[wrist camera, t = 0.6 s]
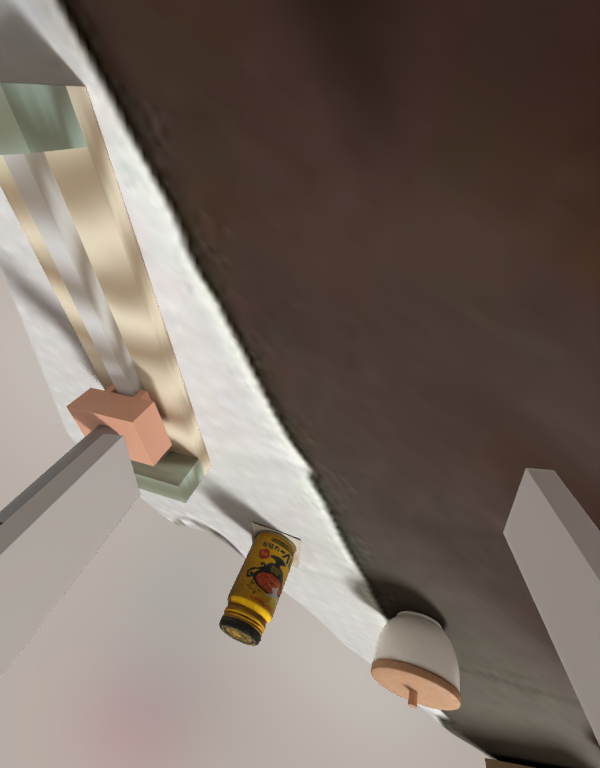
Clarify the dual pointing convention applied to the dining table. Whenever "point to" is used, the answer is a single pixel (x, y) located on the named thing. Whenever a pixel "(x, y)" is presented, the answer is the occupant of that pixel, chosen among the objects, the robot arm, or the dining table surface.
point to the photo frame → (502, 764)
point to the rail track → (96, 263)
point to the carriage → (107, 416)
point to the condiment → (259, 584)
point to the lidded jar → (417, 662)
